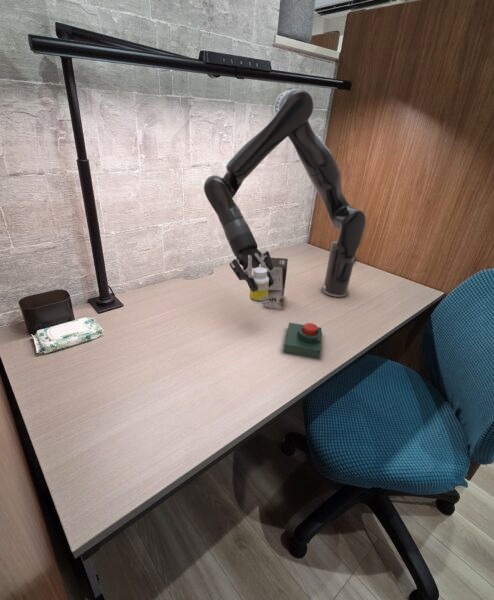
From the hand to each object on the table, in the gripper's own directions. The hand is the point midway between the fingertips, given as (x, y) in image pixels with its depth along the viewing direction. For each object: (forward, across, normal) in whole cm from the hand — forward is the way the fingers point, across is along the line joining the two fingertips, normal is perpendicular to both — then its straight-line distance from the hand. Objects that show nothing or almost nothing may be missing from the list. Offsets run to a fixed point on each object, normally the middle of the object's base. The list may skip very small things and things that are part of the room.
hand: (263, 287), depth 92 cm
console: (+19, +7, +3) cm, 21 cm away
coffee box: (+3, +18, +20) cm, 27 cm away
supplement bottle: (+2, 0, +5) cm, 5 cm away
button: (+17, +8, -1) cm, 19 cm away
